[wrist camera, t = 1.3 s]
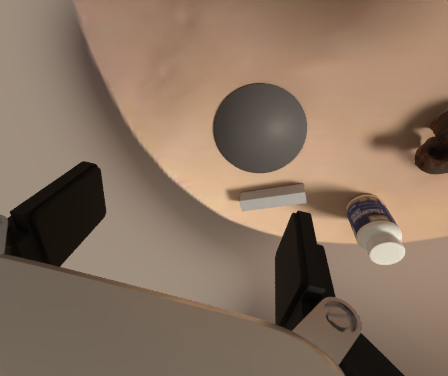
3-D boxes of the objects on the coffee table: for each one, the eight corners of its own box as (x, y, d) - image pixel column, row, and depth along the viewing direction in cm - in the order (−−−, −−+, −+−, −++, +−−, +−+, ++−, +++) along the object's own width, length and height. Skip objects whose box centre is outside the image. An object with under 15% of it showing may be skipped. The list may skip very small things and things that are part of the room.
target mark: (302, 72, 31) (303, 73, 30) (309, 166, 37) (310, 166, 37) (203, 95, 34) (203, 95, 34) (225, 177, 40) (225, 177, 40)
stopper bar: (303, 183, 39) (305, 192, 36) (304, 193, 40) (306, 203, 37) (240, 192, 41) (239, 201, 39) (243, 202, 42) (242, 211, 40)
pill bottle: (375, 187, 37) (403, 231, 29) (388, 212, 39) (418, 260, 31) (339, 202, 39) (356, 247, 31) (353, 225, 41) (372, 273, 33)
